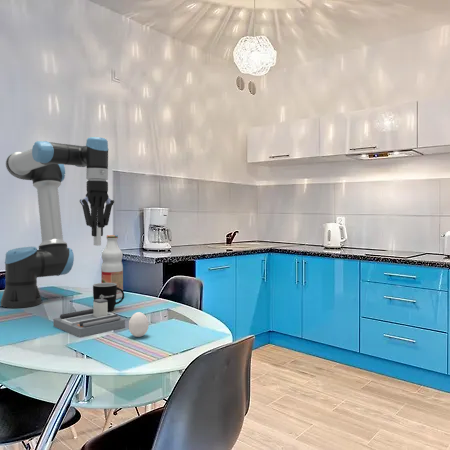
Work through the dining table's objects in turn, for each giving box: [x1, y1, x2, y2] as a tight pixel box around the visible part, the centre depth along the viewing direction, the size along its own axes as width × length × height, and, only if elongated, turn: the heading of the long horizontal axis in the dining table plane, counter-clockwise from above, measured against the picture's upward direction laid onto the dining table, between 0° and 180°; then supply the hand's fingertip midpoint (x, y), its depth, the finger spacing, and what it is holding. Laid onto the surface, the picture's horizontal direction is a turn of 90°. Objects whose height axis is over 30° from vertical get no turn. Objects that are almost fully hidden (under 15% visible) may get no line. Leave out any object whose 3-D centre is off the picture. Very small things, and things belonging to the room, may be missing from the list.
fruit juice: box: [100, 234, 124, 300], centre depth 190 cm, size 9×9×28 cm
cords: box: [59, 308, 122, 327], centre depth 142 cm, size 13×16×2 cm
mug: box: [92, 282, 125, 313], centre depth 167 cm, size 12×9×10 cm
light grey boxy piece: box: [92, 299, 108, 317], centre depth 145 cm, size 4×3×6 cm
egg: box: [128, 311, 150, 338], centre depth 131 cm, size 6×6×8 cm
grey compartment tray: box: [52, 311, 126, 338], centre depth 142 cm, size 18×16×3 cm
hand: (97, 245), depth 155 cm, fingers closed
